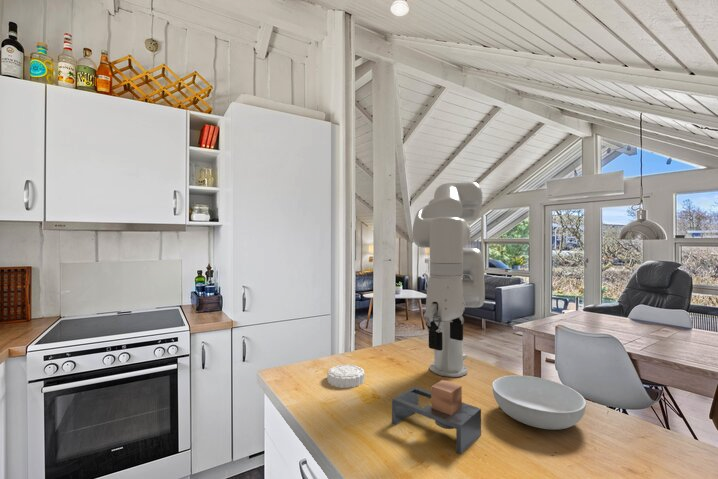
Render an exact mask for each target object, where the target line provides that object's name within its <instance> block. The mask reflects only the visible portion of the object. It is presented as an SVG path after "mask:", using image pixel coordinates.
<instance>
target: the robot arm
mask: <svg viewBox="0 0 718 479" xmlns="http://www.w3.org/2000/svg"><path fill="white" fill-rule="evenodd" d="M482 191H483V190H482V188H481V186H480V185H479V184H478V183H477V182H474V181H467V182H466V181H464V182H463V181H462V182H447V183H443V184H441V185H439V186H438V187H436V189H435V190H434V195H433V198H432V199H431V200H430V201H429V202H428V204H426V205H425V206H423V207H421V208H420V209H419V210H418V211H417V212H416V214H415V216H414V221H413V224H412V231H411V232H412V234H411V235H412V236H411V237H412V241H413V243H414V244H415V245H416V247H420V248H423V249H424V248H426V249H428V248H429V277H428V280H427V286H426V299H425V312H424V313H423V318H424V321H425V326H426V330H427V332H428V348H429V349H431V350H434V352H433V353H434V357H433V358H434V360H433V362H431V363H430V364H429V370H430V371H431V372H432V373H434V374H435V375H440V376H442V377H451V378H452V377H453V378H454V377H455V378H458V377H463V376H465V375H467V374H468V372H469V370H468V367H467V366H466V365H465V364H464V360H466V359H467V354H466V353H464V350H463V348H464V344H463V343H464V322H465V319H464V318H465V314H466V313H465V309H466V308H481V307H483V305H484V303H485V300H486V297H485V296H486V287H485V286H486V285H485V264H484V263H485V262H484V261H485V260H484V256H483V253H482V251H481V250H480V249H478V248H475V247H465V246H466V245H467V244H468V243H469V242H470V239H471V226H470V225H469V223H468V222H473V221H476V220H477V219H478V218H479V217H480V215H481V210H482V206H483V192H482ZM467 221H468V222H467ZM464 276H468V277H469V278H463V277H464Z"/></svg>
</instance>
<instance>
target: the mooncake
mask: <svg viewBox="0 0 718 479" xmlns="http://www.w3.org/2000/svg"><path fill="white" fill-rule="evenodd" d="M365 373H366V372H365V370H364V368H362V367H360V366H357V365H355V364H339V365H335V366H333V367H330V368H329V369H328V370H327V378H326V379H327V383H328V384H329V385H330V386H331V387H335V388H339V389H350V388H356V387H359V386H361V385H363V384H364V383H365V381H366V379H365Z"/></svg>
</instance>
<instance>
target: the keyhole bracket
mask: <svg viewBox="0 0 718 479" xmlns="http://www.w3.org/2000/svg"><path fill="white" fill-rule="evenodd" d="M419 395H420V396H422V397H425V398H427V399H430V400H431V390H426V389H423V388H421V387H418V386H413V387H411V388H409V389H407V390H405V391H404V392H402V393H401V394H398V395H397V396H395V397H393V398H392V399H391V424H392V425H394V426H396V425H397V424H400V422H402V421H404V420H406V419H407V418H409V417H410V416H412V415H413V414H415V413H416V414H419V415H420V416H424V417H426V418H428V419H430V420H433V421H434V422H435V421H438V422H440V423H443V424H445V425H448V426H450V427H453V428H454V429H455V430H456V431H455V432H456V433H455V434H456V435H455V436H456V443H455V445H456V454H458V455H462V454H464V452H466V450H467V449H469V447H471V446H472V445H473V444H474V443H475V442H476V441H477V440H478V439H479V437H481V435H482V408H481V407H480V408H479V407H478V406H474V405H470V404H468V403H465V402H462V408H460V409H459V410H458V411H456V412H455V413H454V414H452V415H449V414H446V413H443V412H441V411H438V410H435V409H433V408H431V405H430V404H427V405H425V406H424V407H423V406H420V405H419Z"/></svg>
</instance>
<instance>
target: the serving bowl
mask: <svg viewBox="0 0 718 479" xmlns="http://www.w3.org/2000/svg"><path fill="white" fill-rule="evenodd" d="M491 388H492V394H493V397H494V399H495V402H496V404H497V405H498V406H499V408H500V409H501V410H502V411H503V412H504V413H505V414H506V415H508V416H509V417H511V418H512V419H514V420H516V421H518V422H519V423H522V424H525V425H527V426H529V427H534V428H539V429H543V430H544V429H545V430H563V429H565V430H566V429H568V428H570V427H571V428H572V427H573V426H575V425H577V424H578V423H579V422H580V421H581V420H582V418H583V417H584V415H585V412H586V407H587V402H586V399H585V398H584V396H583V395H582V394H581V393H579V392H578V391H577V390H575V389H573V388H571V387H570V386H568V385H566V384H563V383H560V382H557V381H555V380H551V379H548V378H547V379H546V378H543V377H542V378H541V377H537V376H532V375H523V374H522V375H520V374H519V375H516V374H514V375H504V376H501V377H498V378H496V379H495V380H493V381H492V384H491Z"/></svg>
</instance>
